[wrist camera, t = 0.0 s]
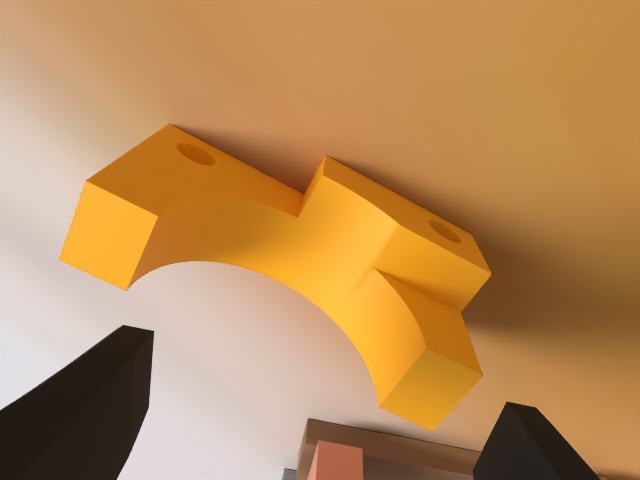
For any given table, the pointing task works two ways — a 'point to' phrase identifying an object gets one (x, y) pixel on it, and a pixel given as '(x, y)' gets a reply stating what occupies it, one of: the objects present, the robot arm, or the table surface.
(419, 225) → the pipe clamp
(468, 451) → the trammel bar
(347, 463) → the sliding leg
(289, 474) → the strip
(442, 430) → the table surface
